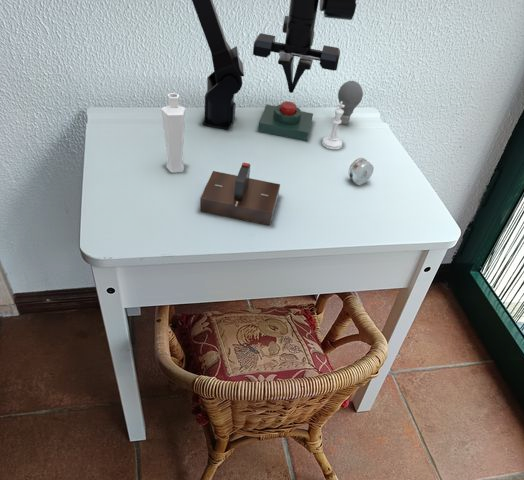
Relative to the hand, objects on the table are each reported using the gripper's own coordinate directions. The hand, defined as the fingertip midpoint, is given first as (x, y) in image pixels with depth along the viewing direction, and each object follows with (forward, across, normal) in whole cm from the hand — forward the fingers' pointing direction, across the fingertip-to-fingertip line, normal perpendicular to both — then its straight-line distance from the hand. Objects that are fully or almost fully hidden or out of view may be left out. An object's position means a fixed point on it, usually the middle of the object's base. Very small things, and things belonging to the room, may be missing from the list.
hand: (291, 91), depth 114 cm
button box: (+8, 0, 0) cm, 8 cm away
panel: (+8, +4, +35) cm, 36 cm away
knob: (+5, +4, +35) cm, 36 cm away
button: (+5, 0, 0) cm, 5 cm away
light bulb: (+9, -14, -8) cm, 18 cm away
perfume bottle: (+8, +20, +27) cm, 35 cm away
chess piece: (+8, -12, +4) cm, 15 cm away
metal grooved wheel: (+9, -19, +18) cm, 28 cm away
